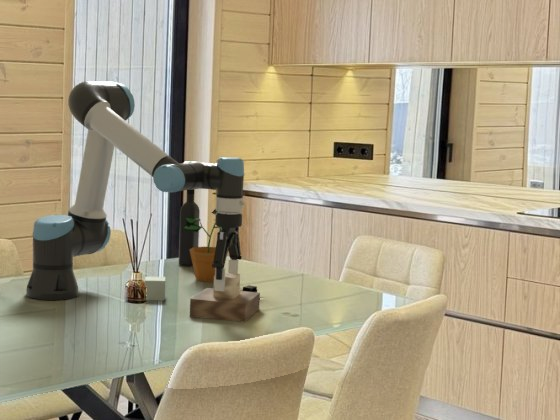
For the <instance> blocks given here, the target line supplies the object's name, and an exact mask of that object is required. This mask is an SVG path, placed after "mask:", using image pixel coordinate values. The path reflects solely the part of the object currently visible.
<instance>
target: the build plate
mask: <svg viewBox="0 0 560 420" xmlns="http://www.w3.org/2000/svg"><path fill="white" fill-rule="evenodd" d="M241 291H247V292H257V293H258V286H255V285H245V286H243V287H242V290H241Z"/></svg>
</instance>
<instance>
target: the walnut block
mask: <svg viewBox="0 0 560 420" xmlns="http://www.w3.org/2000/svg"><path fill="white" fill-rule="evenodd" d="M213 289H214V287H213V288H211V287H206V288H205V289H203V290H202V291H200V292H199V293H197V294H196V295H194V296H193V297H190V298H189V317H193V318H203V319H214V320H223V321H235V322H246V321H248V320H249V319H251V318H252V316H253V315H255V314H256V313H257V312H258V311H260V301H261V300H260V298H261V297H260V295H261V293H260V292H258V291H257V292H247V291H242V290H240V292H239V295H238V296H237V297H235V298H234V299H230V298H220V297H213ZM257 310H258V311H257ZM256 311H257V312H256ZM255 312H256V313H255ZM254 313H255V314H254Z"/></svg>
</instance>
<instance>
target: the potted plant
mask: <svg viewBox="0 0 560 420" xmlns="http://www.w3.org/2000/svg"><path fill="white" fill-rule="evenodd" d="M212 195H216V192H213V193H212ZM217 212H218V211H216V208H214V209H213V211H212V212H211V214H213V215H215V216H216V213H217ZM197 220H199V226H198V225H195V224H193V223H195V222H196V221H197ZM186 222H187V224H186V225H185V226H184V227H183V228H185V229H188V230H192V231H195V232H198V231H199V232H200V230H201V229H203V231H204V232H205V233H206V236H208V242H207V246H198V247H193V248H191V249H189V250H190V255H191V259H192V263H193V266H192V267H193V271H194V276H195V280H197V281H199V282H214V276H215V268H212V264H213V261H214V255H215V249H216V246H210V245H211V238H212V235H213V232H214V229H217V228H218V232H221V229H222V228H221V227H219V226H216V224H215V223H214V224H213V226H212V229H211V231H210V233H208V232H207V230H206V229H205V228H204V226H203V225H202V223H201V219H200V218H199V219H191V218H186Z"/></svg>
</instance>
